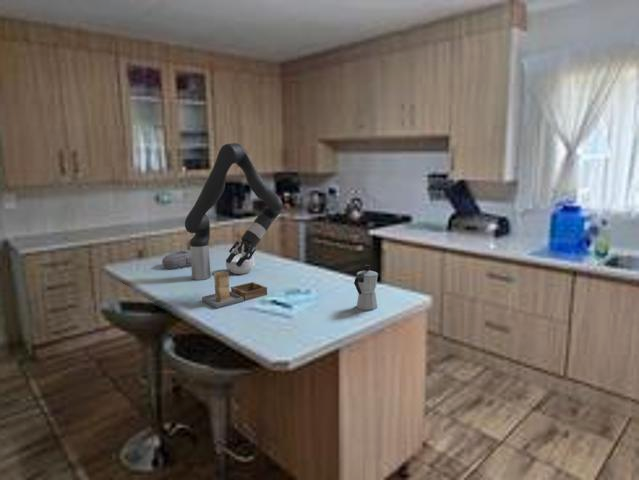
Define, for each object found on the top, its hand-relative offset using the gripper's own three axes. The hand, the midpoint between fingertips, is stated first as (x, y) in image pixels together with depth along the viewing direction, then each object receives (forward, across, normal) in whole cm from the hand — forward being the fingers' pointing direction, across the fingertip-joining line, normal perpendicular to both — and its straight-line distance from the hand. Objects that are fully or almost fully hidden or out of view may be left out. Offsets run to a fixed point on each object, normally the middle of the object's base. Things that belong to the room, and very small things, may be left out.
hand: (232, 264), depth 197 cm
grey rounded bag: (+7, -71, +17) cm, 74 cm away
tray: (+15, 0, +7) cm, 17 cm away
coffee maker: (-13, +47, +35) cm, 60 cm away
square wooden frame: (+6, 0, +17) cm, 18 cm away
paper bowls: (-7, -36, +30) cm, 47 cm away
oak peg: (+15, 0, +7) cm, 16 cm away
